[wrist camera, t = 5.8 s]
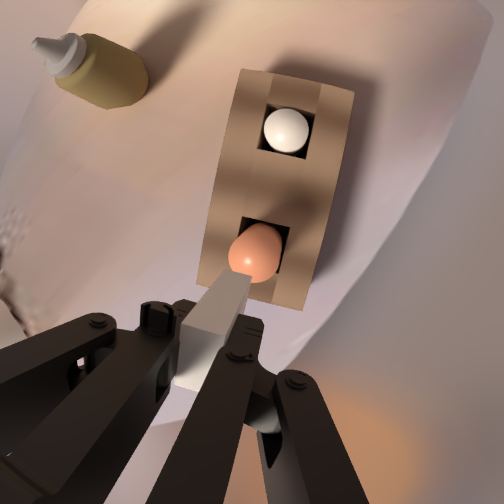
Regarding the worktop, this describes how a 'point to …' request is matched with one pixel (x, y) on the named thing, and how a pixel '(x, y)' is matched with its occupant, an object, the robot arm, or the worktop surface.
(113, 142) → the worktop surface
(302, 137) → the white oval piece
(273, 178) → the walnut plug block
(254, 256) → the terracotta plug
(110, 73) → the squeeze bottle
